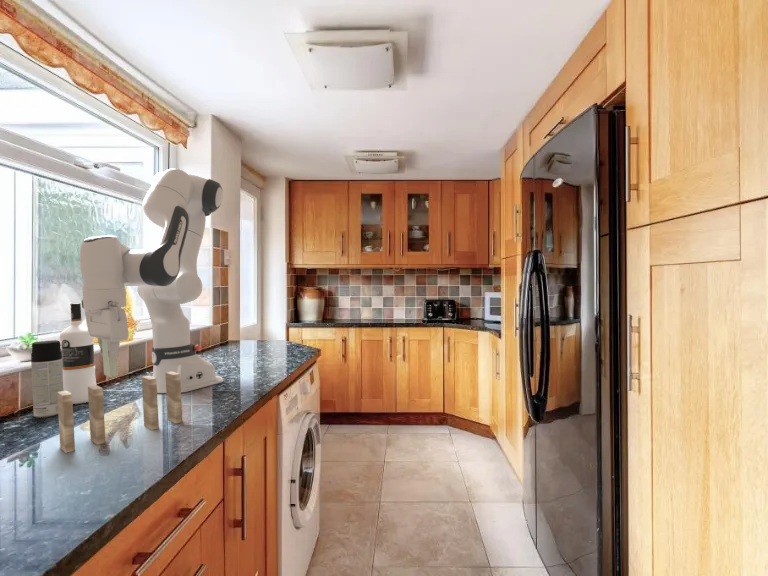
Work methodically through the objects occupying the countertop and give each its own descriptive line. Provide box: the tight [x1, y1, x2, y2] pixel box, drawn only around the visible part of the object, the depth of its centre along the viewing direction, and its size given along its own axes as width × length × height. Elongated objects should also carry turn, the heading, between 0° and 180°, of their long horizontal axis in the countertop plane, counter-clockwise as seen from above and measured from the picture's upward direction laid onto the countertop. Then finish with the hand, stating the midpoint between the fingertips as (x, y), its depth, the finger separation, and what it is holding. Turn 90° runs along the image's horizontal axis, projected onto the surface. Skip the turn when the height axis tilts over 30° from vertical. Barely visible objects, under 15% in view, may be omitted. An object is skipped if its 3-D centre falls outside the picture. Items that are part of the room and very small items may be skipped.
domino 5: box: [165, 372, 183, 424], centre depth 105 cm, size 2×5×12 cm, turn 48°
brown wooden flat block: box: [88, 384, 106, 446], centre depth 93 cm, size 2×5×12 cm, turn 48°
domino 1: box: [57, 390, 76, 454], centre depth 89 cm, size 2×5×12 cm, turn 48°
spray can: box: [30, 339, 64, 418], centre depth 115 cm, size 7×7×20 cm
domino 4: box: [141, 375, 160, 431], centre depth 101 cm, size 2×5×12 cm, turn 48°
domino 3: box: [101, 339, 119, 378], centre depth 104 cm, size 2×5×12 cm, turn 48°
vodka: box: [59, 302, 97, 405], centre depth 128 cm, size 9×9×30 cm
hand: (109, 356), depth 104 cm, fingers closed on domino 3, 5 cm apart
